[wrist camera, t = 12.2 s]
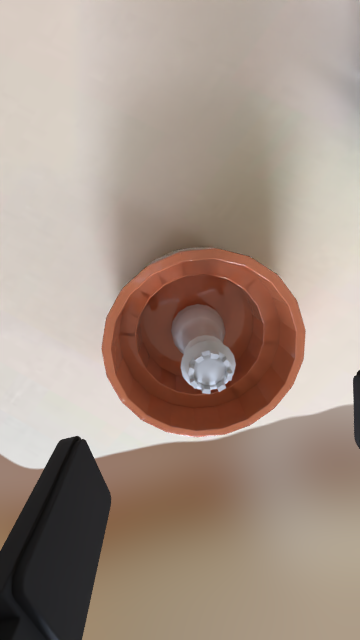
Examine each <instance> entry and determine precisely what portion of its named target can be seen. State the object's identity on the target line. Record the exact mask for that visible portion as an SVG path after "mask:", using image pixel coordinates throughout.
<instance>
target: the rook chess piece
mask: <svg viewBox="0 0 360 640" xmlns="http://www.w3.org/2000/svg"><path fill="white" fill-rule="evenodd" d="M171 332H172V337H173V341H174V344H175V345H176V347H177V348H178V349H179V351H180V352H181V353H183V354H184V355H183V357H182V362H181V371H182V375H183V377H184V379H185V380H186V381H187V382H188V384H189V385H191V386H193V388H194V389H196V388H197V389H201V390H202V393H205V394H211V390H213V389H218V391H219V392H220V391H222V390H224V389H225V388H226V386H225V384H226V383H227V382H228V381H231V380H232V376H233V374H234V370H235V366H236V363H235V358H234V355H233V353H232V352H231V351H230V349H229V348H228V347H227V346H225V345H224V344H223V341H224V336H225V328H224V323H223V320H222V318H221V317H220V315H219V314H218V312H217V311H216V310H214V309H212V308H211V307H209V306H207V305H200V304H196V305H191V306H187V307H186V308H184V309H183V310H181V311H180V312H178V314H177V315H176V317H175V318H174V320H173V323H172V329H171Z"/></svg>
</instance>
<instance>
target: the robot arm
mask: <svg viewBox="0 0 360 640" xmlns="http://www.w3.org/2000/svg"><path fill="white" fill-rule="evenodd" d="M353 394H354V435H355V436H354V437H355V441H356V443H357V445H358V447H359V449H360V370H359V371H358V372H357V375H356V376H354V378H353ZM110 506H111V495H110V492H109V490H108V487H107V485H106V483H105V481H104V479H103V477H102V475H101V472H100V470H99V468H98V466H97V464H96V461H95V459H94V457H93V455H92V453H91V451H90V448H89V446H88V444H87V442H86V440H84V439H82V440H81V438H80V437H79V436H75V437H71V438H66V439H62V440H60V441H59V443H58V444H57V446H56V448H55V450H54V452H53V454H52V455H51V457H50V459H49V461H48V463H47V465H46V467H45V468H44V470H43V472H42V474H41V476H40V478H39V480H38V482H37V484H36V485H35V487H34V489H33V491H32V493H31V495H30V497H29V499H28V501H27V502H26V504H25V506H24V508H23V510H22V512H21V513H20V515H19V517H18V519H17V521H16V523H15V525H14V526H13V528H12V530H11V532H10V534H9V536H8V538H7V540H6V541H5V543H4V545H3V547H2V549H1V551H0V640H82V636H83V632H84V627H85V622H86V618H87V613H88V609H89V604H90V599H91V594H92V590H93V585H94V580H95V575H96V571H97V566H98V562H99V557H100V552H101V548H102V543H103V539H104V534H105V529H106V525H107V520H108V515H109V511H110Z"/></svg>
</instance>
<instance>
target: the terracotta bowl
mask: <svg viewBox="0 0 360 640" xmlns="http://www.w3.org/2000/svg"><path fill="white" fill-rule="evenodd" d="M196 304H200V305H207V306H209V307H211V308H212V309H214V310H216V311H217V312H218V314H219V315H220V317H221V318H222V320H223V323H224V328H225V336H224V341H223V344H224V345H225V346H227V347H228V348H229V349H230V351H231V352H232V353H233V355H234V358H235V363H236V366H235V370H234V374H233V376H232V380H231V381H228V382H227V383H226V384H225V386H226V388H225V389H224V390H222V391H220V392H219V391H218V389H213V390H211V394H205V393H202V390H201V389H197V388H196V389H194V388H193V386H191V385H189V384H188V382H187V381H186V380H185V379H184V377H183V375H182V371H181V362H182V357H183V355H184V354H183V353H181V352H180V351H179V349H178V348H177V347H176V345H175V344H174V341H173V337H172V332H171V329H172V323H173V320H174V318H175V317H176V315H177V314H178V312H180V311H181V310H183V309H184V308H186V307H187V306H191V305H196ZM304 345H305V327H304V323H303V320H302V316H301V313H300V309H299V306H298V302H297V300H296V298H295V297H294V296H293V294H292V293H291V292H290V290H289V289H288V288H287V286H286V285H285V284H284V282H283V281H282V279H281V278H280V277H279V276H278V275H277V274H276V273H274V272H273V271H271V270H270V269H268V268H267V267H265V266H264V265H262V264H261V263H259V262H258V261H256V260H255V259H253V258H252V257H250V256H246V255H242V254H238V253H234V252H230V251H226V250H222V249H218V248H208V247H199V248H188V249H179V250H176V251H173V252H171V253H169V254H166V255H164V256H162V257H160V258H157V259H155V260H154V261H152V262H151V263H150V264H149V265H148V266H146V267H145V268H144V269H143V270H142V271H141V272H140V273H139V274H138V275H136V276H135V277H134V278H133V279H132V280H131V281H130V282H129V283H128V284H127V285H126V286H124V287H123V289H122V290H121V291H120V293H119V295H118V297H117V299H116V301H115V302H114V304H113V306H112V308H111V310H110V312H109V313H108V315H107V318H106V322H105V329H104V335H103V342H102V354H103V359H104V364H105V369H106V375H107V378H108V379H109V381H110V383H111V385H112V386H113V388H114V390H115V392H116V393H117V395H118V397H119V399H120V400H121V401H122V403H123V404H125V405H126V406H127V407H128V408H129V409H130V410H131V411H132V412H133V413H134V414H136V415H137V416H138V417H139V418H140V419H141V420H143V421H144V422H147V423H149V424H151V425H153V426H155V427H157V428H159V429H161V430H163V431H165V432H168V433H173V434H179V435H185V436H191V437H204V436H215V435H223V434H224V435H225V434H227V433H230V432H233V431H236V430H239V429H241V428H244V427H247V426H250V424H253V423H254V422H256V421H257V420H258V419H260V418H261V417H263V416H264V415H266V414H267V413H269V412H270V411H271V410H273V409H274V408H275V407H276V406H277V404H278V403H279V402H280V401H281V400H282V398H283V397H284V396H285V395H286V393H287V392H288V391H289V390H290V389H291V387H292V386H293V384H294V381H295V379H296V377H297V374H298V372H299V369H300V367H301V364H302V362H303V359H304Z"/></svg>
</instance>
